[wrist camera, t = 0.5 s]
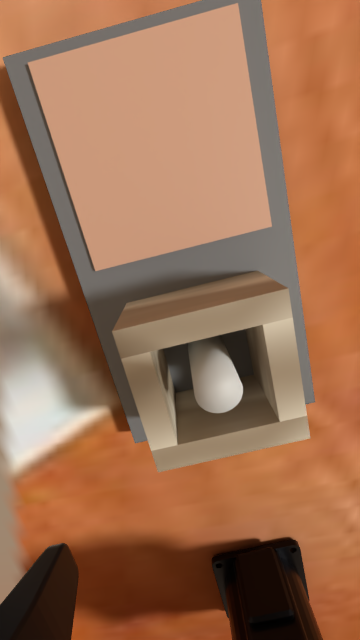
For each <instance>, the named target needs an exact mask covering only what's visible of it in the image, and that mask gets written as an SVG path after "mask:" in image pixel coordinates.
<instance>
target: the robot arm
mask: <svg viewBox="0 0 360 640" xmlns="http://www.w3.org/2000/svg"><path fill="white" fill-rule="evenodd" d="M212 567H213V571H214V574H215V577H216V581H217V584H218V587H219V591H220V594H221V597H222V601H223V604H224V608H225V611H226V614H227V617H228V618H229V621H230V627H231V634H232V640H323V638H322V636H321V633H320V630H319V628H318V625H317V622H316V619H315V617H314V614H313V611H312V608H311V606H310V603H309V596H308V590H307V584H306V579H305V573H304V568H303V562H302V556H301V551H300V547H299V545H298V542H297V541H296V540H288V541H283V542H278V543H274V544H269V545H264V546H259V547H255V548H250V549H245V550H240V551H236V552H231V553H226V554H221V555H217V556H214V557H213V558H212ZM77 586H78V567H77V565H76V562H75V560H74V558H73V556H72V554H71V551H70V549H69V547H68V545H67V544H65V543H61V544H56V545H52V546H49V547H48V548H47V549H46V550H45V551H44V552H43V553H42V554H41V556H40V557H39V558H38V559H37V561H36V562H35V563H34V564H33V565H32V567H31V568H30V569H29V570H28V572H27V573H26V574H25V575H24V576H23V578H22V579H21V580H20V581H19V583H18V584H17V585H16V586H15V588H14V589H13V590H12V591H11V592H10V594H9V595H8V596H7V597H6V599H5V600H4V601H3V602H2V603H1V605H0V640H71V635H72V627H73V619H74V611H75V602H76V594H77Z"/></svg>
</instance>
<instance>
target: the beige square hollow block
mask: <svg viewBox="0 0 360 640" xmlns="http://www.w3.org/2000/svg"><path fill="white" fill-rule="evenodd" d="M243 329H245V330H246V336H247V341H248V346H249V351H250V356H251V361H252V366H253V372H254V375H250V376H246V377H242V378H240V381H241V383H242V386H243V395H242V398H241V400H240V402H239V403H238V404H237V405H236V406H235V407H234V408H233V409H231V410H229V411H227V412H224V413H211V412H208V411H206V410H204V409H203V408H201V407H200V406H199V405H198V403H197V401H196V399H195V395H194V389H190V390H186V391H182V392H177V393H176V392H175V389H174V385H173V382H172V378H171V374H170V371H169V367H168V364H167V360H166V357H165V353H164V350H163V349H164V348H168V347H172V346H176V345H180V344H185V343H189V342H193V341H197V340H201V339H205V338H210V337H214V336H218V335H222V334H226V333H230V332H235V331H239V330H243ZM112 333H113V336H114V339H115V342H116V345H117V348H118V351H119V354H120V357H121V360H122V363H123V366H124V370H125V373H126V376H127V379H128V382H129V385H130V388H131V391H132V394H133V397H134V400H135V403H136V406H137V409H138V412H139V415H140V418H141V421H142V424H143V427H144V430H145V433H146V436H147V440H148V443H149V446H150V449H151V452H152V455H153V458H154V461H155V464H156V467H157V470H158V472H162V471H166V470H171V469H175V468H180V467H184V466H188V465H193V464H197V463H202V462H206V461H211V460H215V459H220V458H224V457H229V456H233V455H238V454H242V453H247V452H251V451H256V450H260V449H264V448H269V447H273V446H278V445H282V444H287V443H291V442H296V441H300V440H305V439H309V438H310V433H309V426H308V419H307V412H306V405H305V398H304V391H303V385H302V378H301V371H300V364H299V357H298V350H297V343H296V336H295V330H294V323H293V316H292V309H291V302H290V295H289V288H287V287H285V286H284V285H282V284H280V283H278V282H277V281H275V280H273V279H271V278H270V277H268V276H266V275H265V274H263V273H261V272H259V271H254V272H250V273H246V274H242V275H238V276H234V277H230V278H226V279H222V280H218V281H214V282H210V283H206V284H202V285H197V286H193V287H189V288H185V289H181V290H177V291H173V292H169V293H165V294H161V295H157V296H153V297H149V298H145V299H141V300H137V301H133V302H129V303H126V305H125V307H124V309H123V311H122V313H121V315H120V317H119V319H118V321H117V323H116V325H115V327H114V329H113V330H112Z"/></svg>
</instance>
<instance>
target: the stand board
mask: <svg viewBox="0 0 360 640" xmlns="http://www.w3.org/2000/svg"><path fill="white" fill-rule="evenodd" d="M3 60H4V63H5V66H6V69H7V72H8V75H9V78H10V81H11V84H12V87H13V89H14V92H15V95H16V98H17V101H18V104H19V107H20V110H21V113H22V116H23V119H24V121H25V124H26V127H27V130H28V133H29V136H30V139H31V142H32V145H33V148H34V151H35V153H36V156H37V159H38V162H39V165H40V168H41V171H42V174H43V177H44V180H45V183H46V185H47V188H48V191H49V194H50V197H51V200H52V203H53V206H54V209H55V212H56V215H57V217H58V220H59V223H60V226H61V229H62V232H63V235H64V238H65V241H66V244H67V247H68V249H69V252H70V255H71V258H72V261H73V264H74V267H75V270H76V273H77V276H78V279H79V281H80V284H81V287H82V290H83V293H84V296H85V299H86V302H87V305H88V308H89V311H90V313H91V316H92V319H93V322H94V325H95V328H96V331H97V334H98V337H99V340H100V343H101V345H102V348H103V351H104V354H105V357H106V360H107V363H108V366H109V369H110V372H111V375H112V377H113V380H114V383H115V386H116V389H117V392H118V395H119V398H120V401H121V404H122V407H123V409H124V412H125V415H126V418H127V421H128V424H129V427H130V430H131V433H132V436H133V438H134V441H135V443H138V442H143V441H147V436H146V433H145V430H144V427H143V424H142V421H141V418H140V415H139V412H138V409H137V406H136V403H135V400H134V397H133V394H132V391H131V388H130V385H129V382H128V379H127V376H126V373H125V370H124V366H123V363H122V360H121V357H120V354H119V351H118V348H117V345H116V342H115V339H114V336H113V333H112V330H113V329H114V327H115V325H116V323H117V321H118V319H119V317H120V315H121V313H122V311H123V309H124V307H125V305H126V303H129V302H133V301H137V300H141V299H145V298H149V297H153V296H157V295H161V294H165V293H169V292H173V291H177V290H181V289H185V288H189V287H193V286H197V285H202V284H206V283H210V282H214V281H218V280H222V279H226V278H230V277H234V276H238V275H242V274H246V273H250V272H254V271H259V272H261V273H263V274H265V275H266V276H268V277H270V278H271V279H273V280H275V281H277V282H278V283H280V284H282V285H284V286H285V287H287V288H289V295H290V302H291V309H292V316H293V323H294V330H295V336H296V343H297V350H298V357H299V364H300V371H301V378H302V385H303V391H304V398H305V404H309V403H314V402H315V398H314V391H313V383H312V376H311V368H310V361H309V353H308V346H307V339H306V331H305V324H304V316H303V309H302V301H301V294H300V287H299V279H298V272H297V264H296V257H295V249H294V242H293V235H292V227H291V220H290V212H289V205H288V197H287V190H286V183H285V175H284V168H283V160H282V153H281V146H280V138H279V131H278V123H277V116H276V108H275V101H274V94H273V86H272V79H271V71H270V64H269V56H268V49H267V42H266V34H265V27H264V19H263V12H262V4H261V0H202V1H198V2H195V3H191V4H188V5H184V6H181V7H177V8H174V9H170V10H167V11H163V12H160V13H156V14H153V15H149V16H146V17H142V18H139V19H135V20H132V21H128V22H125V23H121V24H118V25H114V26H111V27H107V28H104V29H100V30H97V31H93V32H90V33H86V34H83V35H79V36H76V37H72V38H69V39H65V40H62V41H58V42H55V43H51V44H48V45H44V46H41V47H37V48H34V49H30V50H27V51H23V52H20V53H16V54H13V55H9V56H6V57H3ZM163 350H164V353H165V357H166V360H167V364H168V367H169V371H170V374H171V378H172V382H173V385H174V389H175V392H176V393H177V392H182V391H186V390H190V389H194V395H195V399H196V401H197V403H198V405H199V406H200V407H201V408H203V409H204V410H206V411H208V412H211V413H224V412H227V411H229V410H231V409H233V408H234V407H235V406H236V405H237V404H238V403H239V402H240V400H241V398H242V395H243V386H242V383H241V381H240V378H242V377H246V376H250V375H254V372H253V366H252V361H251V356H250V351H249V346H248V341H247V336H246V330H245V329H243V330H239V331H235V332H230V333H226V334H222V335H218V336H214V337H210V338H205V339H201V340H197V341H193V342H189V343H185V344H180V345H176V346H172V347H168V348H164V349H163Z"/></svg>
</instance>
